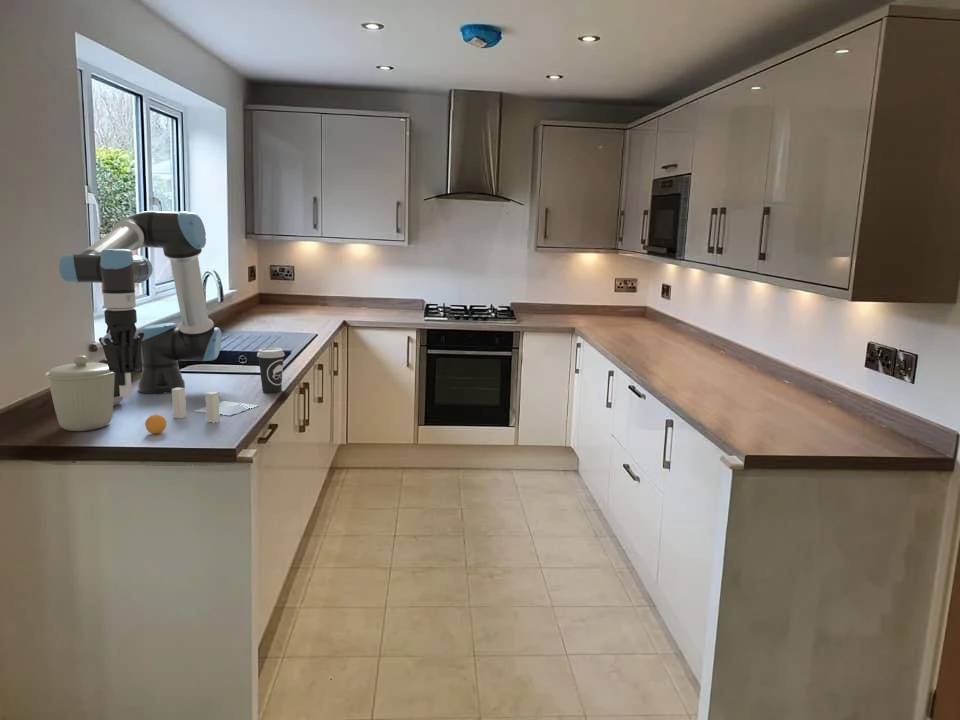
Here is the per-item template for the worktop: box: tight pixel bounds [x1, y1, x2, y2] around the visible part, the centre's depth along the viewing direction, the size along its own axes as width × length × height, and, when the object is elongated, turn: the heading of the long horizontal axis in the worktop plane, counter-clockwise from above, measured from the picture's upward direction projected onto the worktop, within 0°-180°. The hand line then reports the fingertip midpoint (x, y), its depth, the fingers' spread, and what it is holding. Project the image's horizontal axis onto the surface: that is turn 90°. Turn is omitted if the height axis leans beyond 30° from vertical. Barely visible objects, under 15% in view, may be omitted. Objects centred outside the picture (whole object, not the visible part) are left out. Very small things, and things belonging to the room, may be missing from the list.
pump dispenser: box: [96, 358, 124, 407], centre depth 231 cm, size 10×10×15 cm
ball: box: [144, 413, 167, 435], centre depth 203 cm, size 6×6×6 cm
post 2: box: [204, 391, 221, 424], centre depth 215 cm, size 3×3×9 cm
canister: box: [44, 354, 115, 432], centre depth 206 cm, size 18×18×21 cm
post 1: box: [171, 387, 187, 419], centre depth 219 cm, size 3×3×9 cm
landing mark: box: [194, 400, 260, 416], centre depth 231 cm, size 14×14×1 cm
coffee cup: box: [256, 347, 286, 394], centre depth 254 cm, size 10×10×15 cm
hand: (126, 396), depth 192 cm, fingers closed
